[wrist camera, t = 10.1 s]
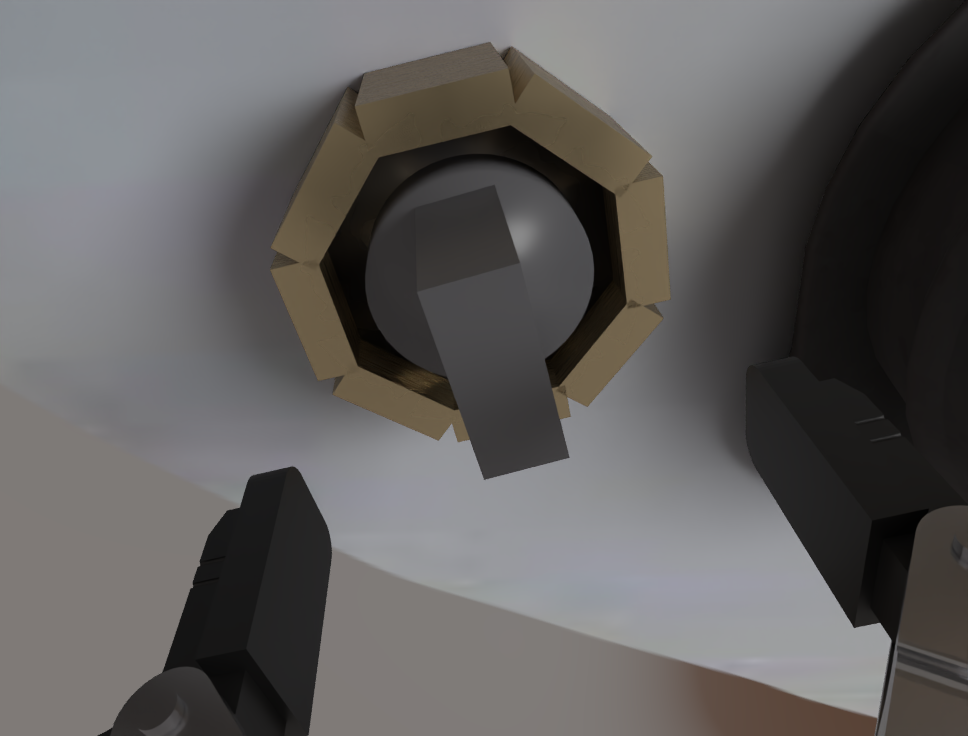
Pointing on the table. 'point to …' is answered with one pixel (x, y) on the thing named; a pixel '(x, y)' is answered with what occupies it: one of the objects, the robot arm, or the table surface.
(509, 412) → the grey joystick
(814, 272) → the casserole
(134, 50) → the table surface
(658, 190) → the octagonal wooden ring
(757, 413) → the robot arm
